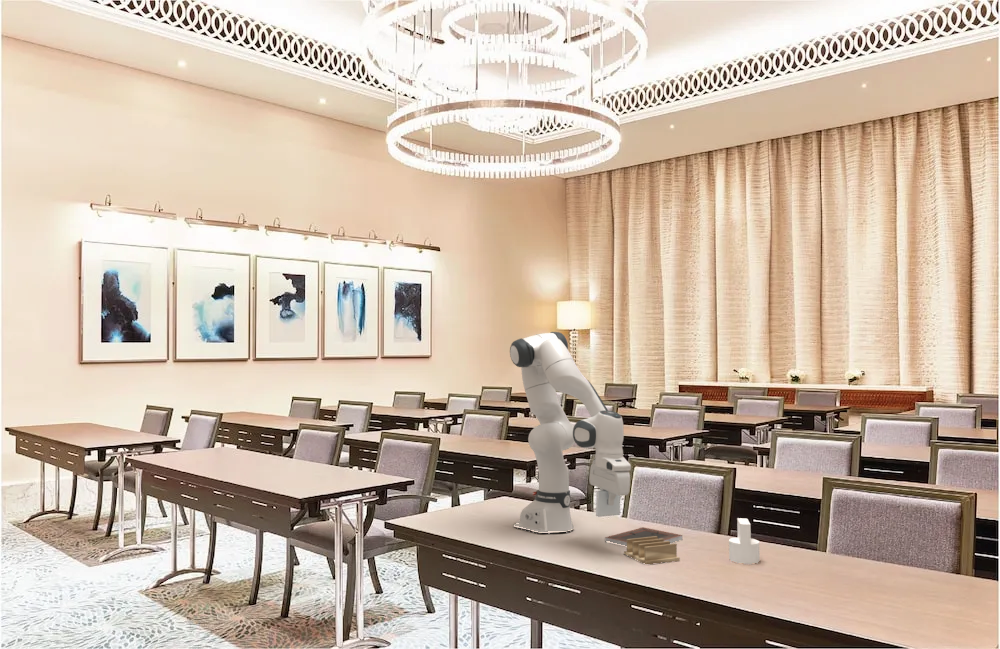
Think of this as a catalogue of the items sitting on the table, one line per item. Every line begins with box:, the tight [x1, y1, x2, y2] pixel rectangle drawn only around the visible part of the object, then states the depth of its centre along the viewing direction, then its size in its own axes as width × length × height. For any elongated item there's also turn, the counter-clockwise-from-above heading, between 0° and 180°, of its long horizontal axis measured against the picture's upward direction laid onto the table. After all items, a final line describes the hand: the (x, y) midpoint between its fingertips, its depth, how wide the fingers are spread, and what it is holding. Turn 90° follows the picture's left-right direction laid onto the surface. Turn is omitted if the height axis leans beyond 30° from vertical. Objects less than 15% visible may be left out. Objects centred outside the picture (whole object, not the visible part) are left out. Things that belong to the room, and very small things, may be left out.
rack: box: [623, 536, 681, 565], centre depth 238 cm, size 13×12×5 cm
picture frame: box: [604, 527, 683, 546], centre depth 259 cm, size 16×2×22 cm
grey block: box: [595, 490, 621, 518], centre depth 246 cm, size 2×8×8 cm, turn 112°
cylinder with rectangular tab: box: [728, 517, 761, 565], centre depth 235 cm, size 9×9×12 cm
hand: (607, 504), depth 246 cm, fingers closed on grey block, 1 cm apart
